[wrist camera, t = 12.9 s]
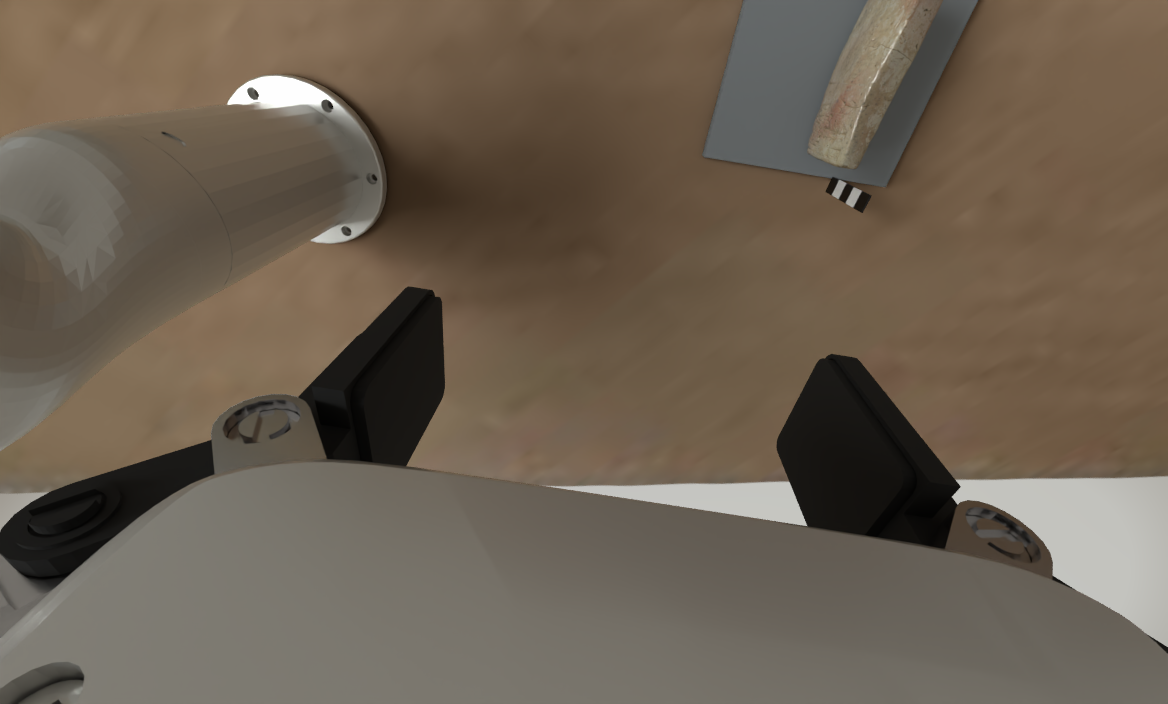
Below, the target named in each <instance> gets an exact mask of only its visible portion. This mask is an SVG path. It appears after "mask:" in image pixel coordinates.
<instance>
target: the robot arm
mask: <svg viewBox="0 0 1168 704" xmlns="http://www.w3.org/2000/svg"><path fill="white" fill-rule="evenodd" d="M331 103H332V105H333V107H332V106H331ZM374 175H375V176H376V177H377V179H376V178H375V177H374ZM386 193H387V179H386V171H385V167H384V162H383V158H382V156H381V153H380V151H379V148H378V146H377V143H376V141H375V139H374V138H373V136H372V134H371V133H370V131H369V129H368V127H367V126H366V125H365V123H364V122H363V121H362V120H361V118H360V117H359V116H358V115H357V113H356V112H355V111H354V110H353V109H352V108H351V107H350V106H349V105H348V104H347V103H346V102H345V101H343V100H342V99H341V98H340V97H339V96H337V95H336V94H334V93H333V92H331V91H330V90H328V89H327V88H325V87H323V86H321V85H319V84H317V83H315V82H313V81H311V80H308V79H305V78H301V77H297V76H294V75H265V76H260V77H257V78H254V79H251V80H249V81H247V82H246V83H244V84H243V85H241V86H240V87H239V88H237V90H236V91H235V92H234V93H233V95H232V96H231V97H230V99H229V101H228V103H227V105H217V106H207V107H197V108H187V109H177V110H168V111H158V112H148V113H138V114H128V115H118V116H108V117H98V118H89V119H79V120H69V121H60V122H50V123H45V124H40V125H35V126H30V127H26V128H24V129H21V130H18V131H15V132H12V133H10V134H7V135H5V136H3V137H2V138H0V451H1V450H3V449H4V448H6V447H7V446H9V445H10V444H12V443H13V442H15V441H16V440H18V439H19V438H21V437H22V436H24V435H25V434H27V433H28V432H29V431H31V430H32V429H33V428H34V427H36V426H37V425H38V424H39V423H41V422H42V421H43V420H44V419H46V418H47V417H48V416H49V415H50V414H52V413H53V412H54V411H55V410H56V409H58V408H59V407H60V406H61V405H62V404H63V403H65V402H66V401H67V400H68V399H69V398H70V397H71V396H72V395H73V394H74V393H75V392H77V391H78V390H79V389H80V388H81V387H82V386H83V385H84V384H85V383H86V382H88V381H89V380H90V379H91V378H92V377H93V376H94V375H95V374H96V373H98V372H99V371H100V370H101V369H102V368H103V367H105V366H106V365H107V364H108V363H109V362H111V361H112V360H113V359H114V358H115V357H117V356H118V355H119V354H121V353H122V352H123V351H125V350H126V349H127V348H129V347H130V346H131V345H132V344H134V343H135V342H137V341H138V340H140V339H141V338H143V337H144V336H146V335H147V334H149V333H150V332H152V331H153V330H155V329H156V328H158V327H159V326H161V325H163V324H164V323H166V322H168V321H169V320H171V319H173V318H174V317H176V316H178V315H179V314H181V313H183V312H184V311H186V310H188V309H189V308H191V307H193V306H195V305H196V304H198V303H200V302H202V301H204V300H205V299H207V298H209V297H211V296H212V295H214V294H216V293H218V292H220V291H222V290H224V289H225V288H227V287H229V286H231V285H232V284H234V283H236V282H238V281H240V280H241V279H243V278H245V277H247V276H248V275H250V274H252V273H254V272H255V271H257V270H259V269H261V268H262V267H264V266H266V265H268V264H269V263H271V262H273V261H275V260H277V259H278V258H280V257H282V256H284V255H285V254H287V253H289V252H291V251H292V250H294V249H296V248H298V247H299V246H301V245H303V244H305V243H307V242H308V241H313V242H317V243H327V244H334V243H342V242H346V241H349V240H352V239H354V238H356V237H358V236H360V235H361V234H363V233H365V232H366V231H367V230H368V229H369V228H370V227H372V226H373V225H374V223H375V222H376V221H377V219H378V218H379V216H380V215H381V212H382V209H383V207H384V204H385V200H386ZM444 389H445V374H444V347H443V320H442V301H441V298H440V297H435V295H434V292H433V291H432V290H428V289H421V288H415V287H407V288H405V289H404V290H403V291H402V292H401V293H400V295H399V296H398V297H397V298H396V299H395V300H394V301H393V302H392V303H391V304H390V305H389V306H388V307H387V308H386V309H385V310H384V311H383V312H382V313H381V314H380V315H379V316H378V317H377V318H376V319H375V320H374V321H373V323H372V324H371V325H370V326H369V327H368V328H367V329H366V330H365V331H364V332H363V333H361V334H360V335H358V336H357V337H356V338H355V339H354V340H353V341H352V342H351V343H350V344H349V345H348V346H347V347H346V348H345V349H344V350H343V351H342V352H341V353H340V354H339V355H338V357H337V358H336V359H335V360H334V361H333V362H332V363H331V364H330V365H329V366H328V367H327V368H326V369H325V370H324V371H323V372H322V373H321V374H320V375H319V376H318V377H317V378H316V379H315V380H314V381H313V382H312V383H311V384H310V385H309V386H308V387H307V388H306V389H305V390H304V391H303V393H302V394H301V395H300V396H299V397H296V396H291V395H287V394H270V395H264V396H258V397H255V398H252V399H248V400H245V401H243V402H241V403H239V404H237V405H235V406H233V407H231V408H229V409H228V410H227V411H225V412H224V413H223V414H221V415H220V416H219V417H218V419H217V420H216V421H215V423H214V424H213V427H212V432H211V439H212V440H210V441H207V442H204V443H200V444H197V445H194V446H191V447H188V448H184V449H181V450H178V451H175V452H172V453H168V454H165V455H162V456H159V457H155V458H152V459H149V460H146V461H143V462H139V463H136V464H133V465H130V466H127V467H123V468H120V469H117V470H114V471H111V472H107V473H104V474H101V475H98V476H95V477H91V478H88V479H85V480H82V481H79V482H75V483H72V484H69V485H67V486H64V487H62V488H59V489H56V490H54V491H51V492H49V493H47V494H46V495H44V496H42V497H40V498H38V499H36V500H35V501H33V502H31V503H30V504H28V505H27V506H25V507H24V508H23V509H21V510H20V511H19V512H17V513H16V514H15V515H14V516H13V517H12V518H11V519H10V520H9V521H8V522H7V523H6V524H5V525H4V527H3V528H2V529H1V532H0V704H1168V647H1166V646H1165V645H1163V644H1162V643H1160V642H1158V641H1157V640H1155V639H1154V638H1152V637H1150V636H1149V635H1147V634H1145V633H1144V632H1143V631H1142V630H1141V629H1140V628H1138V627H1137V626H1136V625H1134V624H1133V623H1132V622H1131V621H1129V620H1128V619H1126V618H1125V617H1123V616H1122V615H1120V614H1119V613H1117V612H1115V611H1113V610H1111V609H1110V608H1108V607H1106V606H1105V605H1103V604H1101V603H1099V602H1098V601H1096V600H1094V599H1092V598H1090V597H1088V596H1086V595H1084V594H1082V593H1080V592H1078V591H1076V590H1075V589H1073V588H1072V587H1070V586H1068V585H1067V584H1065V583H1063V582H1062V581H1060V580H1058V579H1057V578H1056V577H1054V576H1052V570H1053V568H1052V567H1053V562H1052V558H1051V554H1050V552H1049V550H1048V549H1047V547H1046V546H1045V544H1044V543H1043V541H1042V540H1041V539H1040V538H1039V537H1038V536H1037V535H1036V534H1035V533H1034V532H1033V531H1032V530H1031V529H1029V528H1028V527H1026V525H1024V524H1023V523H1022V522H1021V521H1019V520H1018V519H1016V518H1014V517H1013V516H1011V515H1010V514H1008V513H1006V512H1005V511H1002V510H1000V509H998V508H996V507H994V506H992V505H989V504H986V503H982V502H979V501H970V500H967V501H963V502H960V503H959V504H958V505H957V504H956V502H955V501H954V499H953V498H952V496H953V495H954V494H955V493H956V491H957V490H958V489H959V488H960V485H959V484H958V483H957V482H956V480H955V479H954V478H953V477H952V475H951V474H950V473H949V472H948V470H947V469H946V468H945V467H944V465H943V464H942V463H941V462H940V460H939V459H938V458H937V457H936V455H935V454H934V453H933V452H932V450H931V449H930V448H929V447H928V445H927V444H926V443H925V442H924V440H923V439H922V438H921V437H920V435H919V434H918V433H917V432H916V431H915V429H914V428H913V427H912V426H911V424H910V423H909V422H908V421H907V419H906V418H905V417H904V416H903V414H902V413H901V412H900V411H899V409H898V408H897V407H896V406H895V404H894V403H893V402H892V401H891V399H890V398H889V397H888V396H887V394H886V393H885V392H884V391H883V389H882V388H881V387H880V386H879V384H878V383H877V382H876V381H875V380H874V378H873V377H872V376H871V375H870V373H869V372H868V371H867V370H866V368H865V367H864V366H863V365H862V363H861V362H860V361H859V360H858V359H857V358H854V357H847V356H841V355H835V354H830V355H828V356H827V357H826V358H825V359H820V360H819V361H818V362H817V364H816V366H815V368H814V369H813V371H812V373H811V375H810V377H809V379H808V381H807V383H806V385H805V387H804V389H803V391H802V392H801V394H800V396H799V398H798V400H797V402H796V404H795V406H794V408H793V410H792V412H791V414H790V415H789V417H788V419H787V421H786V423H785V425H784V427H783V429H782V431H781V433H780V435H779V437H778V439H777V451H778V454H779V457H780V459H781V462H782V464H783V467H784V469H785V472H786V474H787V477H788V479H789V481H790V484H791V486H792V489H793V491H794V494H795V496H796V499H797V501H798V504H799V506H800V509H801V511H802V514H803V516H804V519H805V521H806V523H807V526H801V525H795V524H788V523H782V522H776V521H770V520H763V519H757V518H750V517H744V516H737V515H730V514H725V513H718V512H711V511H704V510H698V509H692V508H685V507H679V506H672V505H666V504H659V503H652V502H646V501H639V500H633V499H626V498H619V497H613V496H606V495H600V494H593V493H587V492H580V491H573V490H566V489H559V488H553V487H546V486H539V485H532V484H526V483H519V482H512V481H505V480H498V479H492V478H485V477H478V476H471V475H464V474H458V473H451V472H444V471H437V470H430V469H424V468H416V467H407V466H406V465H407V463H408V461H409V460H410V458H411V456H412V454H413V452H414V450H415V448H416V447H417V445H418V443H419V441H420V439H421V437H422V435H423V433H424V432H425V430H426V428H427V426H428V424H429V422H430V420H431V419H432V417H433V415H434V413H435V411H436V409H437V407H438V406H439V404H440V402H441V400H442V398H443V394H444Z"/></svg>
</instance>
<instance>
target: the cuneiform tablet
mask: <svg viewBox="0 0 1168 704" xmlns="http://www.w3.org/2000/svg"><path fill="white" fill-rule="evenodd" d="M942 2H943V0H868V1H867V2H866V4H865V6H864V8H863V10H862V12H861V13H860V15H859V18H858V20H857V22H856V24H855V26H854V28H853V30H852V32H851V34H850V36H849V38H848V41H847V43H846V45H845V46H844V49H843V51H842V53H841V55H840V57H839V59H838V62H837V64H836V66H835V69H834V71H833V73H832V76H831V78H830V82H829V84H828V86H827V89H826V91H825V94H824V97H823V100H822V103H821V106H820V110H819V112H818V114H817V116H816V119H815V122H814V125H813V128H812V133H811V135H810V138H809V142H808V147H809V148H808V149H807V153H808V154H809V155H811V156H813V157H814V158H816V159H818V160H821V161H824V162H826V163H828V164H831V165H833V166H835V167H839V168H846V169H857V167H858V166H859V164H860V162H861V160H862V158H863V156H864V154H865V152H866V150H867V148H868V146H869V143H870V141H871V140H872V138H873V137H874V135H875V133H876V131H877V129H878V127H879V125H880V123H881V121H882V118H883V116H884V114H885V112H886V110H887V109H888V107H889V105H890V103H891V101H892V99H893V97H894V95H895V93H896V91H897V89H898V88H899V86H900V84H901V82H902V80H903V78H904V76H905V74H906V72H907V71H908V69H909V67H910V65H911V64H912V62H913V60H914V58H915V56H916V54H917V52H918V51H919V49H920V46H921V44H922V42H923V40H924V38H925V36H926V34H927V32H928V30H929V28H930V26H931V24H932V22H933V20H934V18H935V16H936V14H937V12H938V10H939V8H940V6H941V4H942ZM826 192H827V193H829V194H830V195H832V196H834V197H836V198H837V199H839V200H841V201H842V202H844V203H846V204H848V205H849V206H851V207H853V208H854V209H856V210H858V211H860V212H862V213H863V211H864V209H865V207H866V206H867V204H868V202H869V200H870V198H871V195H869V194H867V193H865V192H863V191H861V190H859V189H857V188H855V187H853V186H851V185H849V184H847V183H845V182H843V181H841V180H839V179H837V178H835V177H832V179H831V181H830V183H829V185H828V187H827V189H826Z"/></svg>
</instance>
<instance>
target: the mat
mask: <svg viewBox="0 0 1168 704" xmlns="http://www.w3.org/2000/svg"><path fill="white" fill-rule="evenodd" d="M867 1H868V0H743V4H742V8H741V11H740V15H739V19H738V23H737V26H736V30H735V34H734V38H733V41H732V45H731V49H730V53H729V56H728V60H727V64H726V68H725V71H724V75H723V79H722V83H721V86H720V90H719V94H718V98H717V101H716V105H715V109H714V113H713V116H712V120H711V124H710V128H709V131H708V135H707V139H706V143H705V146H704V150H703V154H702V156H703V157H707V158H713V159H719V160H725V161H731V162H737V163H743V164H749V165H755V166H761V167H767V168H773V169H779V170H785V171H791V172H797V173H803V174H809V175H815V176H821V177H827V178H832V177H835V178H837V179H839V180H845V181H851V182H857V183H863V184H869V185H875V186H881V187H886V185H887V183H888V181H889V179H890V177H891V175H892V173H893V171H894V169H895V167H896V165H897V163H898V161H899V159H900V157H901V155H902V153H903V151H904V149H905V147H906V145H907V143H908V141H909V139H910V137H911V135H912V133H913V131H914V129H915V127H916V125H917V123H918V121H919V119H920V117H921V115H922V113H923V111H924V109H925V107H926V105H927V103H928V101H929V98H930V96H931V94H932V92H933V90H934V88H935V86H936V84H937V82H938V80H939V78H940V76H941V74H942V72H943V70H944V68H945V66H946V64H947V62H948V60H949V58H950V56H951V54H952V52H953V50H954V48H955V46H956V44H957V42H958V40H959V38H960V36H961V34H962V32H963V30H964V28H965V26H966V24H967V22H968V20H969V18H970V16H971V14H972V12H973V9H974V7H975V5H976V3H977V1H978V0H943V2H942V4H941V6H940V8H939V10H938V12H937V14H936V16H935V18H934V20H933V22H932V24H931V26H930V28H929V30H928V32H927V34H926V36H925V38H924V40H923V42H922V44H921V46H920V49H919V51H918V52H917V54H916V56H915V58H914V60H913V62H912V64H911V65H910V67H909V69H908V71H907V72H906V74H905V76H904V78H903V80H902V82H901V84H900V86H899V88H898V89H897V91H896V93H895V95H894V97H893V99H892V101H891V103H890V105H889V107H888V109H887V110H886V112H885V114H884V116H883V118H882V121H881V123H880V125H879V127H878V129H877V131H876V133H875V135H874V137H873V138H872V140H871V141H870V143H869V146H868V148H867V150H866V152H865V154H864V156H863V158H862V160H861V162H860V164H859V166H858V167H857V169H846V168H839V167H835V166H833V165H831V164H828V163H826V162H824V161H821V160H818V159H816V158H814V157H813V156H811V155H809V154H808V153H807V149H808V148H809V147H808V142H809V138H810V135H811V133H812V128H813V125H814V122H815V119H816V116H817V114H818V112H819V110H820V106H821V103H822V100H823V97H824V94H825V91H826V89H827V86H828V84H829V82H830V78H831V76H832V73H833V71H834V69H835V66H836V64H837V62H838V59H839V57H840V55H841V53H842V51H843V49H844V46H845V45H846V43H847V41H848V38H849V36H850V34H851V32H852V30H853V28H854V26H855V24H856V22H857V20H858V18H859V15H860V13H861V12H862V10H863V8H864V6H865V4H866V2H867Z"/></svg>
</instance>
